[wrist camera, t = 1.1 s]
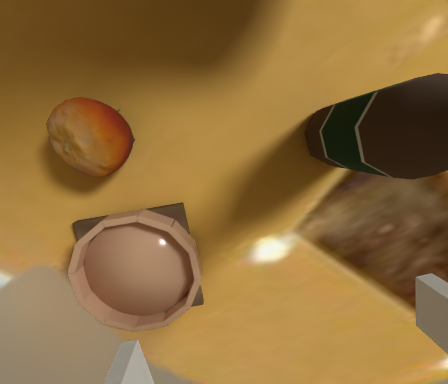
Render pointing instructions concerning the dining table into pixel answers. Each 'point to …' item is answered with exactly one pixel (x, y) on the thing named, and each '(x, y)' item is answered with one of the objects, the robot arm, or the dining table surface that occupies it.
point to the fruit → (90, 136)
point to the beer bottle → (387, 130)
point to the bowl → (136, 270)
